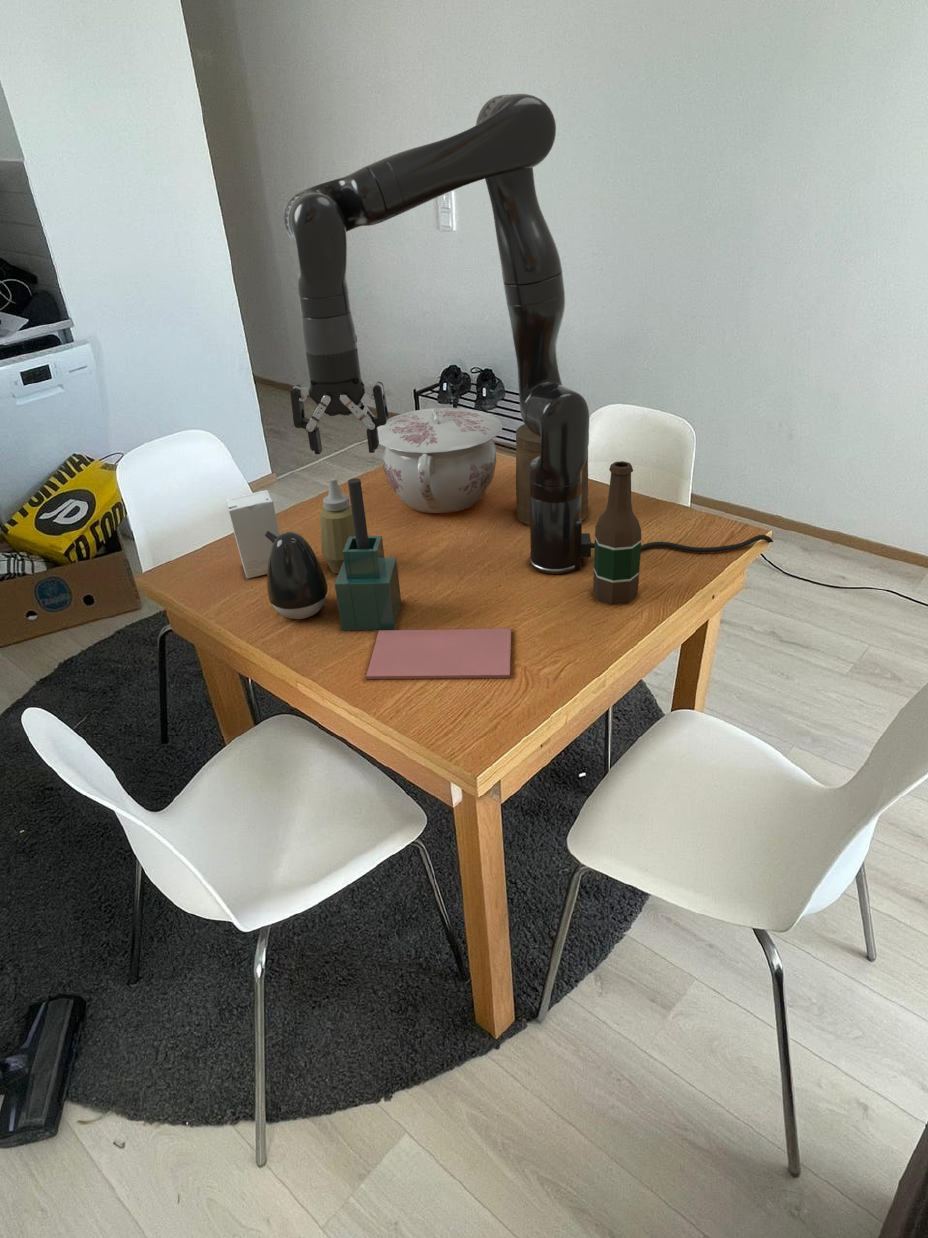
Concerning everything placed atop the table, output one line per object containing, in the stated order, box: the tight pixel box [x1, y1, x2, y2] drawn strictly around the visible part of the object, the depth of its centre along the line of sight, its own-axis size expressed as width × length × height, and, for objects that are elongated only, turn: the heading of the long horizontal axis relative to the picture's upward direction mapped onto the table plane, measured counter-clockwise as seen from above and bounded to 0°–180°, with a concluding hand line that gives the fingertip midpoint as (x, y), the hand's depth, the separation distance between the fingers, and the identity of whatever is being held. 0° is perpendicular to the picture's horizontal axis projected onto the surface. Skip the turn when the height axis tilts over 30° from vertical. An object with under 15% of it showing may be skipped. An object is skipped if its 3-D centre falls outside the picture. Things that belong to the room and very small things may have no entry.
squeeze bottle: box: [319, 477, 355, 574], centre depth 153 cm, size 8×8×18 cm
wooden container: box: [515, 423, 590, 526], centre depth 168 cm, size 15×15×22 cm
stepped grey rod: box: [347, 477, 369, 549], centre depth 136 cm, size 2×3×25 cm
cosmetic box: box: [225, 489, 281, 580], centre depth 156 cm, size 8×6×15 cm
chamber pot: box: [377, 406, 503, 514], centre depth 177 cm, size 28×28×21 cm
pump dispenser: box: [265, 531, 329, 620], centre depth 141 cm, size 10×10×15 cm
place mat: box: [365, 628, 512, 680], centre depth 131 cm, size 22×13×1 cm, turn 86°
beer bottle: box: [592, 460, 642, 606], centre depth 138 cm, size 8×8×24 cm
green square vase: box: [334, 535, 402, 631], centre depth 139 cm, size 9×9×14 cm
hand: (345, 451), depth 128 cm, fingers open, 8 cm apart
